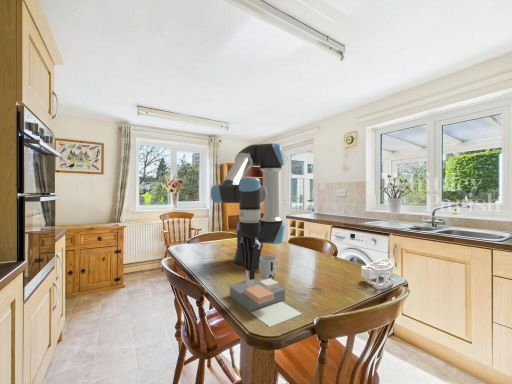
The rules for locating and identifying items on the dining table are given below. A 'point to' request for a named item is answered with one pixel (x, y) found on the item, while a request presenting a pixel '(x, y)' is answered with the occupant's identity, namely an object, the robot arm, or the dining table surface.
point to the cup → (267, 267)
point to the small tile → (269, 284)
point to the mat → (276, 314)
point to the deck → (248, 303)
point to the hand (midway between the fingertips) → (250, 287)
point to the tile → (259, 294)
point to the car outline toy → (379, 272)
